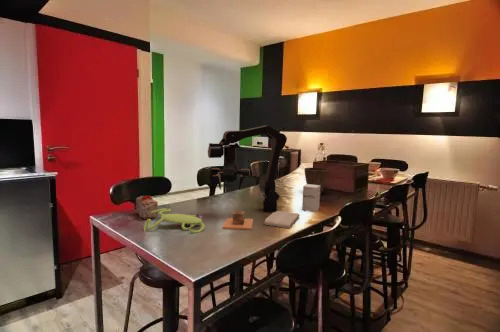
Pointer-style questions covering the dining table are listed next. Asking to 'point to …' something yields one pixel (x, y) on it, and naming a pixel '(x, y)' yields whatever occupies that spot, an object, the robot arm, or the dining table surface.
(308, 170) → the plant pot
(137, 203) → the food item
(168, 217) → the figurine
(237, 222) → the walnut cube
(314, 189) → the supplement box
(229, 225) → the terracotta tile
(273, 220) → the washcloth
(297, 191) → the dining table surface
